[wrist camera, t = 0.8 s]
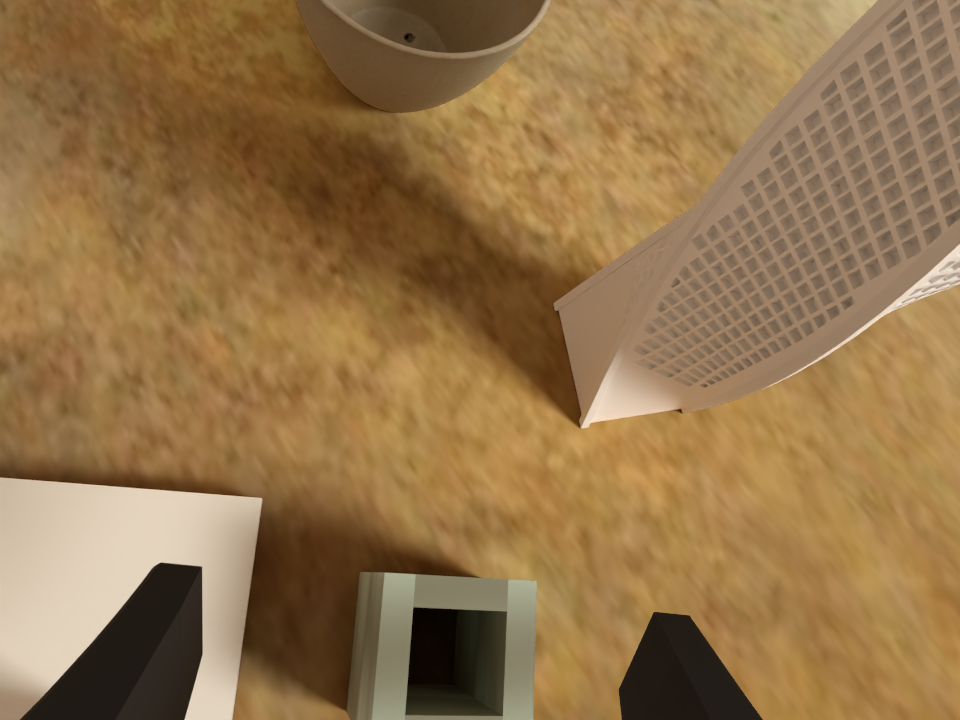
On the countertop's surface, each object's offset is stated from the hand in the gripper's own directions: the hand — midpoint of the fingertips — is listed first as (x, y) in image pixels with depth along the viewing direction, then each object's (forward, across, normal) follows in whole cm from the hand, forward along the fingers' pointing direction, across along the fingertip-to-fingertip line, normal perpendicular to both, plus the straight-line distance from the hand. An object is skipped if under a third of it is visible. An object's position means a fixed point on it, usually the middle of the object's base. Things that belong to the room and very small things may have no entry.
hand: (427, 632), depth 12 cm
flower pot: (+27, +3, -4) cm, 27 cm away
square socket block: (+10, -1, +12) cm, 16 cm away
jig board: (+6, +13, +14) cm, 20 cm away
